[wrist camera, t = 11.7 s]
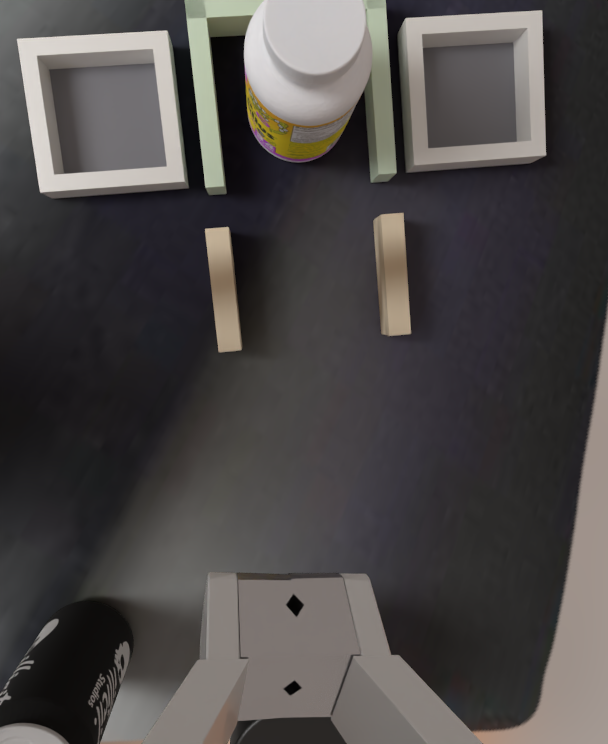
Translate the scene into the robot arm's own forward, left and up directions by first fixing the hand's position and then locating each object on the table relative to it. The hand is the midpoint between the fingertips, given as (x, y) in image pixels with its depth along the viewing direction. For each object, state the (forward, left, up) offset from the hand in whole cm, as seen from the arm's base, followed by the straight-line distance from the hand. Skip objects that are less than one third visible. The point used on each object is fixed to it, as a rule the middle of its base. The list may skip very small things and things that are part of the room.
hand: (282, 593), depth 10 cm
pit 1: (-16, +12, -29) cm, 35 cm away
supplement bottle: (-5, +17, -29) cm, 34 cm away
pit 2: (+5, +23, -29) cm, 38 cm away
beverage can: (-5, -23, -29) cm, 37 cm away
